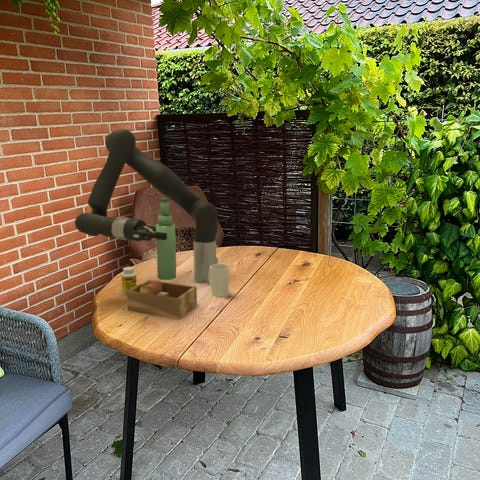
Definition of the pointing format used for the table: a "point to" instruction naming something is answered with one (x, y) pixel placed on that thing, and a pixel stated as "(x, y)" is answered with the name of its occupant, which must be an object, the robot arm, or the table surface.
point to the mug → (219, 279)
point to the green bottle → (166, 243)
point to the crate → (162, 299)
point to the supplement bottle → (128, 279)
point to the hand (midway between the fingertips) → (171, 234)
